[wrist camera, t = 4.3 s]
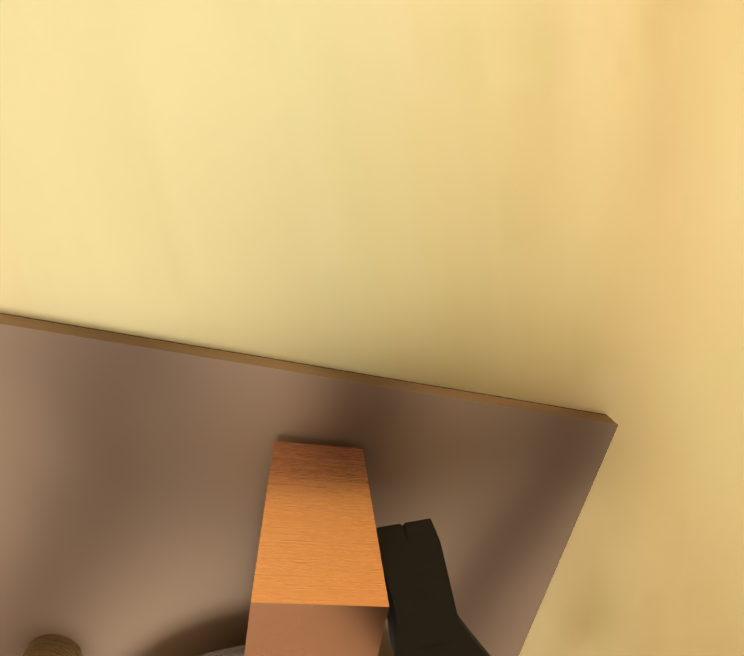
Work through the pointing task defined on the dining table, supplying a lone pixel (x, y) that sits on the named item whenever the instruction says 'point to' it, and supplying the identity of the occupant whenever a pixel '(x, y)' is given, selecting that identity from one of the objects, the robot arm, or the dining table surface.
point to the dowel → (52, 646)
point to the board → (252, 486)
